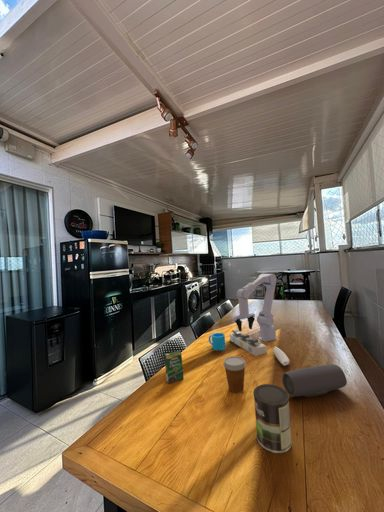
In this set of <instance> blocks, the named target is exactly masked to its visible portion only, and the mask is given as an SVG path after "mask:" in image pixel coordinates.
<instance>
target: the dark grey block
mask: <svg viewBox="0 0 384 512" xmlns="http://www.w3.org/2000/svg"><path fill="white" fill-rule="evenodd" d="M232 333H234V334H235V335H237V336H238V335H241V333H242V331H239V329H238V328H235V329H232Z"/></svg>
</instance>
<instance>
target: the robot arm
mask: <svg viewBox="0 0 384 512" xmlns="http://www.w3.org/2000/svg"><path fill="white" fill-rule="evenodd" d="M276 283H277V277H276V275H275V274H274V273H260V274H259V275H258V277H257V278H256V279H255V280H254V281H253V282H248V283H247V284H246V285H245V286H243V287H242V288H239V289H238V290H236V293H235V296H236V298H237V300H238V311H239V314H238V315H235V316H233V320H234V322H235V324H236V326H237V330H238V331H240V332H242V331H243V329H242V328H243V327H242V323H243V321H242V320H243V319H247V323H248V329H250V330H252V329H253V324H254V322H255V320H256V322H257V324H258V325H259V330H260V331H259V332H260V336H258V337H257V338H258V340H261V341H263V342H265V343H267V342H271V341H275V340H277V334H276V327H275V326H274V315H273V314H272V307H273V306H272V305H273V301H274V295H275V290H276V285H277V284H276ZM260 285H263V286H265V288H266V291H265V295H264V300H263V305H262V309H261V310H260V311H259V312H258V314H257V315H258V316H257V317H256V314H255V313H254V312H253V313H249V312H250V311H249V298H250V296H251V294H252V293H253V292H255V291H256V288H257V287H258V286H260ZM255 317H256V319H255Z"/></svg>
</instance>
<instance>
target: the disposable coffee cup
mask: <svg viewBox="0 0 384 512" xmlns="http://www.w3.org/2000/svg"><path fill="white" fill-rule="evenodd" d="M222 364H223V367H224V369H225V375H226V376H225V377H226V381H227V386H228V390H229V391H230V392H231V393H235V394H239V393H242V392H244V388H245V385H244V384H245V372H246V371H245V370H246V369H245V367H246V361H245V359H244V358H242V357H240V356H234V355H233V356H228V357H226V358H224V360H223V363H222Z"/></svg>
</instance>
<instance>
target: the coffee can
mask: <svg viewBox="0 0 384 512" xmlns="http://www.w3.org/2000/svg"><path fill="white" fill-rule="evenodd" d="M252 393H253V398H254V399H253V400H254V412H255V414H254V415H255V429H256V440H257V443H258V444H259V445H260V446H261V447H262V448H263V449H265V450H266V451H267V452H270V453H272V454H283V453H284V454H285V453H287V452H288V451H290V449H291V448H292V445H293V444H292V443H293V442H292V434H291V420H290V419H291V417H290V402H289V400H290V395H289V394H288V393H287V392H286V390H285V388H284V387H283V388H282V387H280V386H278V385H275V384H270V383H268V384H267V383H266V384H265V383H264V384H259V385H257V386H256V387H254V389H253V391H252Z"/></svg>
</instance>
